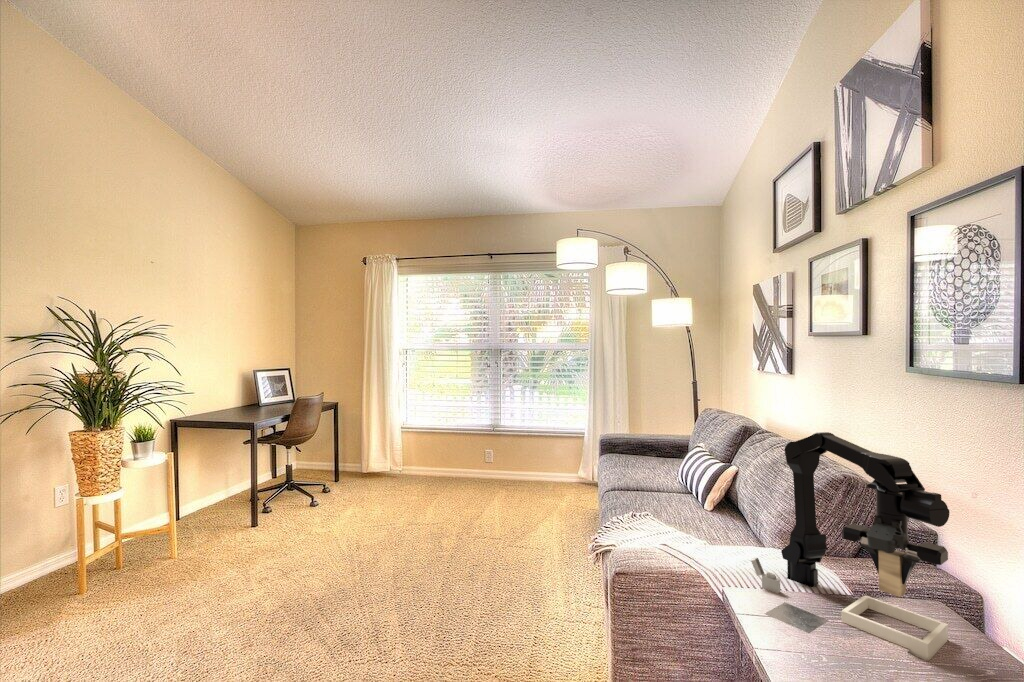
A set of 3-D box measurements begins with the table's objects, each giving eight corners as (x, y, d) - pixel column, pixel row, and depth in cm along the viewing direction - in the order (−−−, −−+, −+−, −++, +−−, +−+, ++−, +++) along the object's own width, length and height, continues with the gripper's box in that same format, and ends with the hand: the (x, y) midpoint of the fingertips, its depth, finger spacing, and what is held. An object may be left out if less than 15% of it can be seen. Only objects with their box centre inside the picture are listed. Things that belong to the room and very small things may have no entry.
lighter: (780, 595, 128) (780, 565, 129) (777, 597, 127) (777, 566, 128) (753, 585, 134) (753, 556, 134) (750, 587, 133) (750, 557, 133)
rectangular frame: (841, 625, 114) (841, 610, 114) (865, 609, 122) (864, 595, 122) (928, 661, 101) (927, 644, 101) (948, 640, 109) (947, 624, 109)
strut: (885, 585, 114) (884, 547, 115) (906, 592, 111) (905, 552, 112) (878, 589, 112) (878, 550, 113) (900, 597, 109) (899, 556, 109)
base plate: (764, 617, 117) (764, 613, 117) (784, 606, 123) (784, 602, 123) (808, 637, 109) (808, 633, 109) (828, 624, 114) (828, 620, 114)
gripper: (831, 507, 116) (832, 573, 115) (931, 530, 100) (933, 607, 100) (851, 500, 122) (851, 562, 121) (948, 521, 107) (949, 593, 106)
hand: (892, 580), depth 112 cm, fingers closed on strut, 4 cm apart
